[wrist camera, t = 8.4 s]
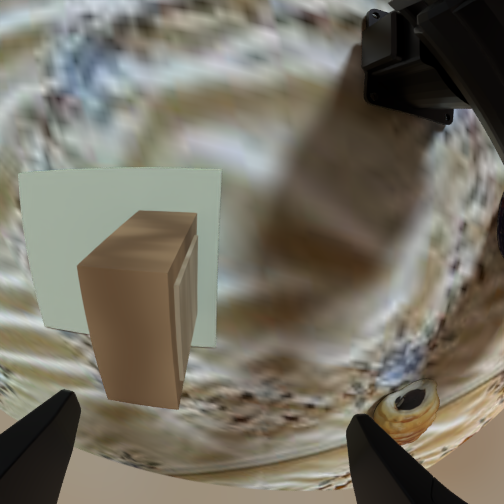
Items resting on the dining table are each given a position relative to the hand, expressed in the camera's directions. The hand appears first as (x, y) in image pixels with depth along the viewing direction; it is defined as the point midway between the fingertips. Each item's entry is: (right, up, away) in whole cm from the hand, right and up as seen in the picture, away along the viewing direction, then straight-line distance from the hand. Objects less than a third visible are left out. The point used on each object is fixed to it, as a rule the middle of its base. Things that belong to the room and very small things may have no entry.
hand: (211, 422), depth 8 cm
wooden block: (-4, +4, +10) cm, 12 cm away
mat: (-8, +5, +11) cm, 14 cm away
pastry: (+17, -10, +18) cm, 27 cm away
